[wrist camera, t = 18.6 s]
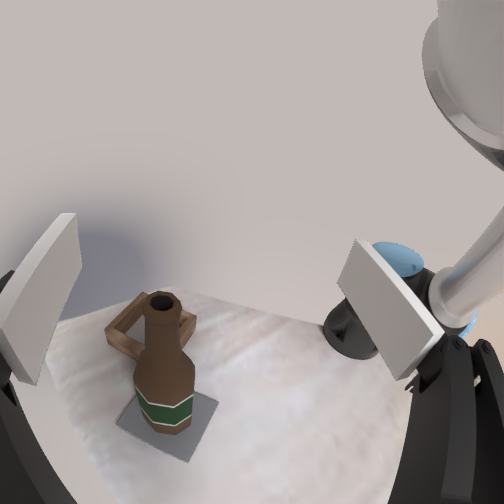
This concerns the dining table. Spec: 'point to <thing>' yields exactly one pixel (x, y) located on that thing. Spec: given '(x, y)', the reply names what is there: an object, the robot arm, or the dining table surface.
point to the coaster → (170, 444)
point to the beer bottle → (164, 367)
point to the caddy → (130, 316)
